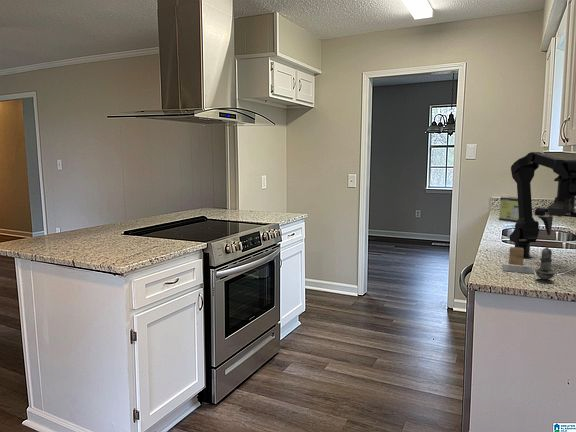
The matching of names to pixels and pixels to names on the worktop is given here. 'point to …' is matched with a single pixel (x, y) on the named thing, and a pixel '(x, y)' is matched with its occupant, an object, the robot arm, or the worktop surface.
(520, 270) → the slate coaster
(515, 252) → the walnut block
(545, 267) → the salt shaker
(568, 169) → the robot arm
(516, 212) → the protein box
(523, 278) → the worktop surface
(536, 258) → the worktop surface
